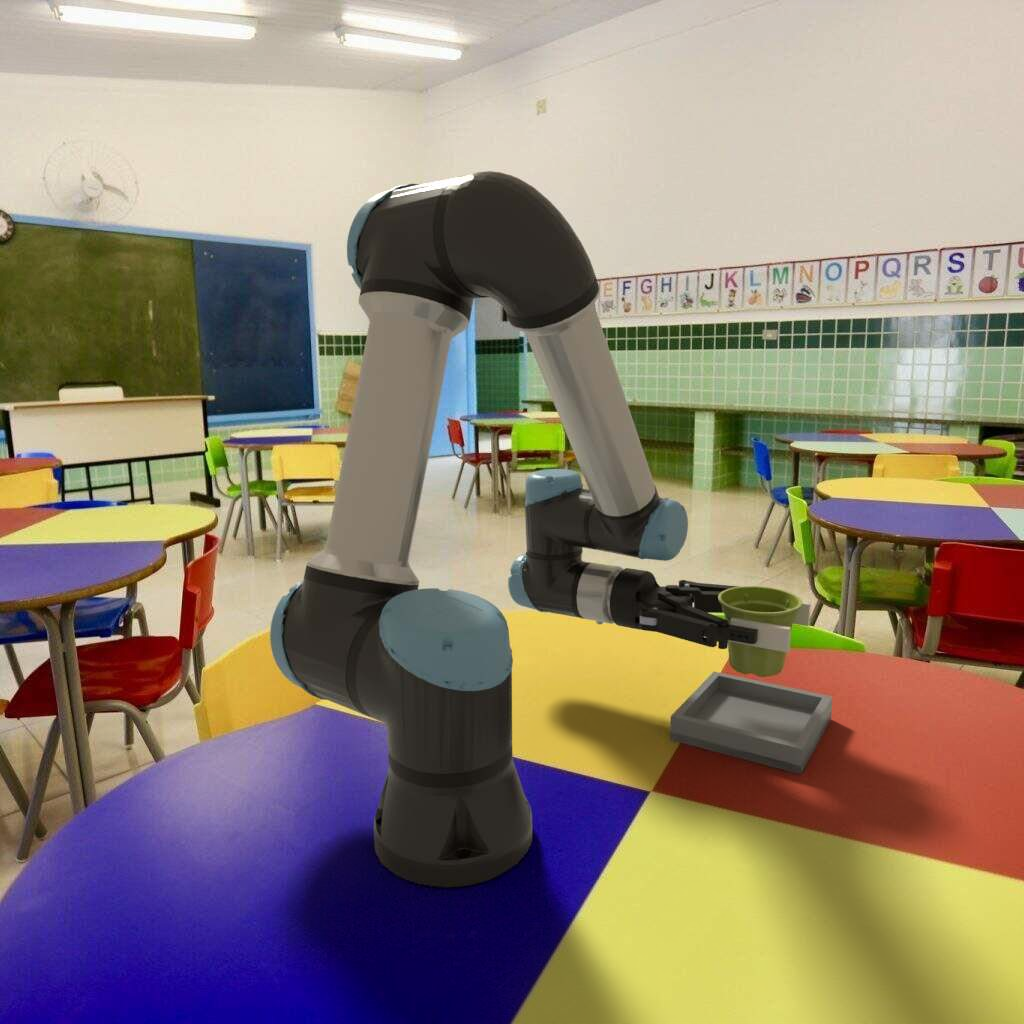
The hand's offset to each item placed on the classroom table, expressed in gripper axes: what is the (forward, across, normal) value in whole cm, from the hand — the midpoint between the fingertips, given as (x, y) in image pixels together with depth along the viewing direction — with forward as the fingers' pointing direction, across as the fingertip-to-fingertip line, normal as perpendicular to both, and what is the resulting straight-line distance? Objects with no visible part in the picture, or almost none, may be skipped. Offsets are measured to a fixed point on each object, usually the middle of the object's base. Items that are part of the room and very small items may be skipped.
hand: (799, 626), depth 92 cm
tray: (-5, 0, -14) cm, 15 cm away
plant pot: (-5, 0, -6) cm, 8 cm away
